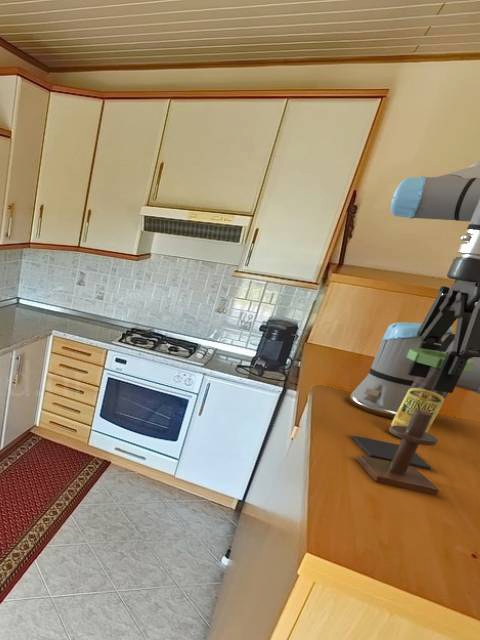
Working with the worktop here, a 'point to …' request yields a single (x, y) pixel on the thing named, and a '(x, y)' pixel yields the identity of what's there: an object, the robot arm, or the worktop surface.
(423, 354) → the ring
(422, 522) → the worktop surface
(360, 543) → the worktop surface
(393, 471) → the peg stand
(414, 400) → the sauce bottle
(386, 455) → the mat
